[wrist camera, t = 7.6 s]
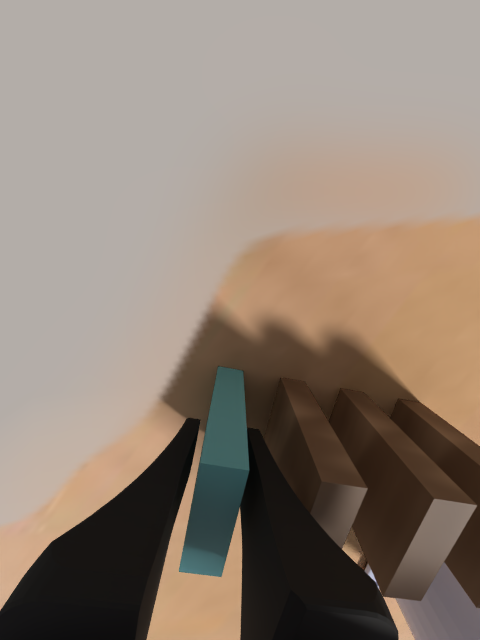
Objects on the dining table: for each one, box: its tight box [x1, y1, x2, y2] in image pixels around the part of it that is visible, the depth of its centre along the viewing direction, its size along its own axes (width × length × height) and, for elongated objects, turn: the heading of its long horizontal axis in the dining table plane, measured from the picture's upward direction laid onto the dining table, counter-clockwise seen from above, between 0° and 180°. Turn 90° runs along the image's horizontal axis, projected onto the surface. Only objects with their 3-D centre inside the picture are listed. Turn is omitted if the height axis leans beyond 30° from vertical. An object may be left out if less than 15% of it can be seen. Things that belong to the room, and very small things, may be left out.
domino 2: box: [329, 388, 477, 601], centre depth 12 cm, size 2×5×7 cm, turn 169°
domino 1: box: [264, 378, 368, 549], centre depth 11 cm, size 2×5×7 cm, turn 168°
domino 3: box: [390, 399, 480, 608], centre depth 12 cm, size 2×5×7 cm, turn 168°
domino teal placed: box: [179, 366, 249, 577], centre depth 11 cm, size 2×5×7 cm, turn 169°
